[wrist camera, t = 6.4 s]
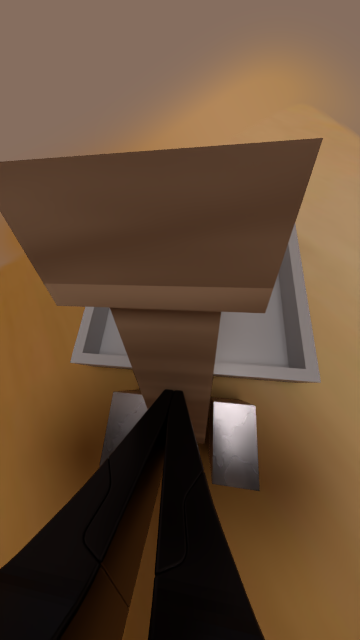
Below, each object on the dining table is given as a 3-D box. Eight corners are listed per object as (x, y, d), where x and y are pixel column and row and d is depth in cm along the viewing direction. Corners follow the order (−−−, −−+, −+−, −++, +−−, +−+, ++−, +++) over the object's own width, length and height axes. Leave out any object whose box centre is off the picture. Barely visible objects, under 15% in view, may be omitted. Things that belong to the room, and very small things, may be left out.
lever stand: (241, 458, 13) (259, 491, 9) (127, 443, 15) (99, 466, 10) (239, 399, 15) (255, 405, 11) (135, 389, 16) (113, 391, 12)
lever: (215, 462, 12) (323, 138, 2) (146, 453, 13) (-29, 163, 3) (214, 389, 16) (249, 154, 6) (160, 384, 17) (112, 163, 7)
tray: (297, 382, 15) (320, 382, 12) (91, 366, 17) (70, 362, 14) (278, 222, 20) (290, 196, 17) (124, 225, 22) (113, 203, 20)
